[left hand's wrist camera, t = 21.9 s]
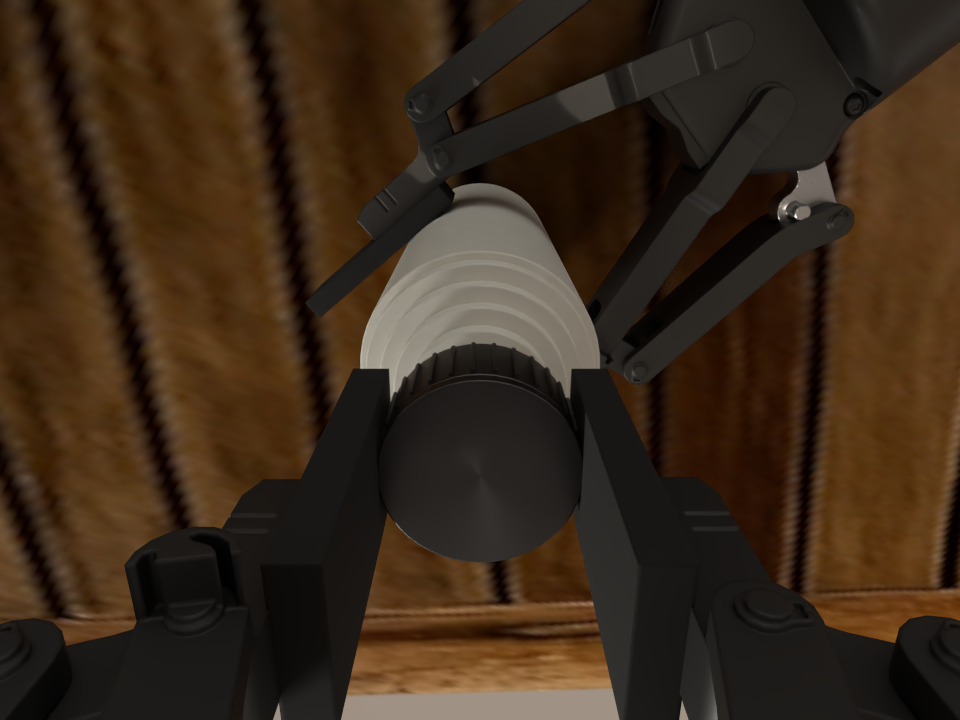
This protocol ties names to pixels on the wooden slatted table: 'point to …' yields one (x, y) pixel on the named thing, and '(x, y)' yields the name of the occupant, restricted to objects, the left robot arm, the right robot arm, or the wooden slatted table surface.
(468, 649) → the wooden slatted table surface
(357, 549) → the left robot arm
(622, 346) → the right robot arm
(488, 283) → the bottle
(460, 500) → the cap
